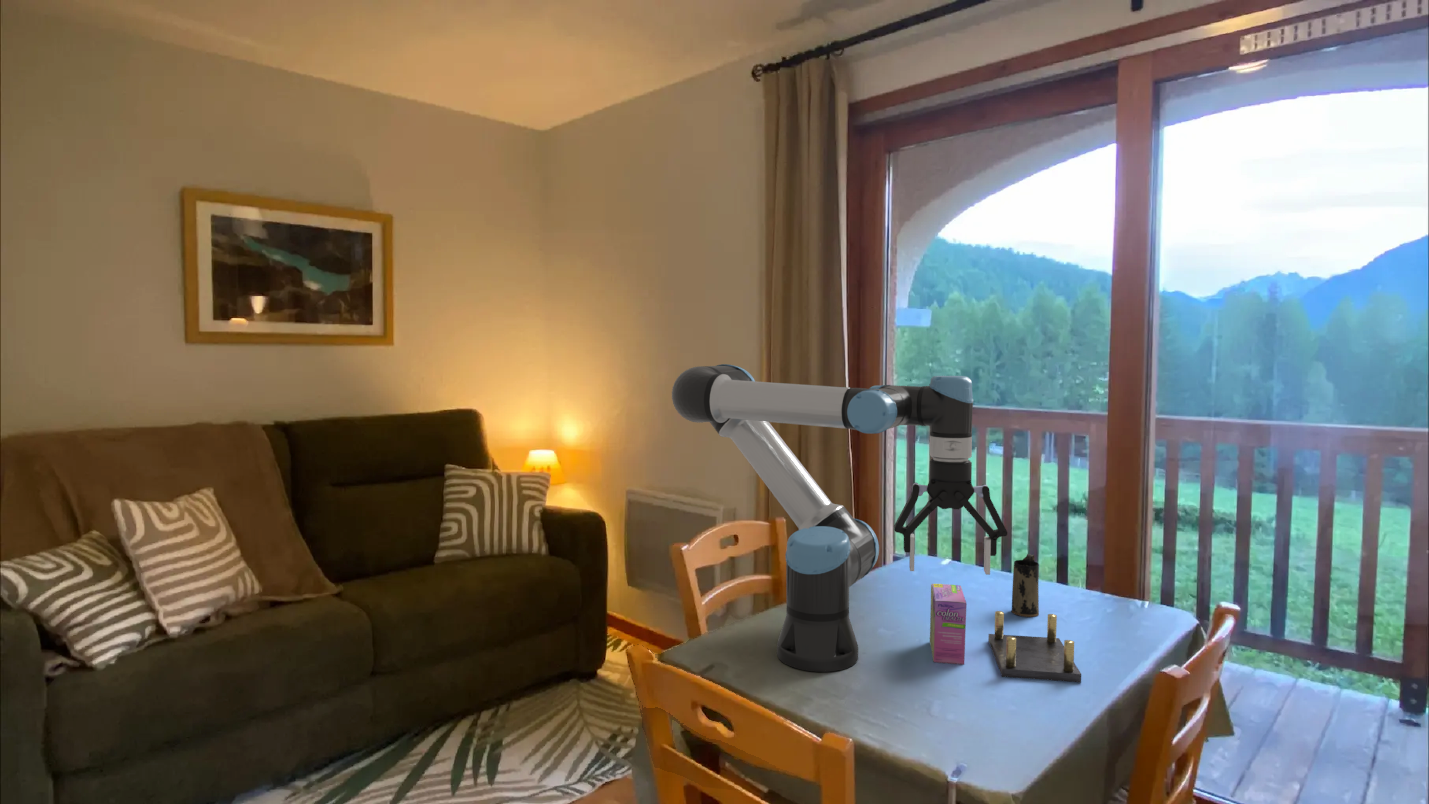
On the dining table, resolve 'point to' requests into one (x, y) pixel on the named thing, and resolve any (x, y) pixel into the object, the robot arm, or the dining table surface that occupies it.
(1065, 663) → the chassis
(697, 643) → the dining table surface
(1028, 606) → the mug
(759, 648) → the dining table surface
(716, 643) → the dining table surface
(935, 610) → the box
